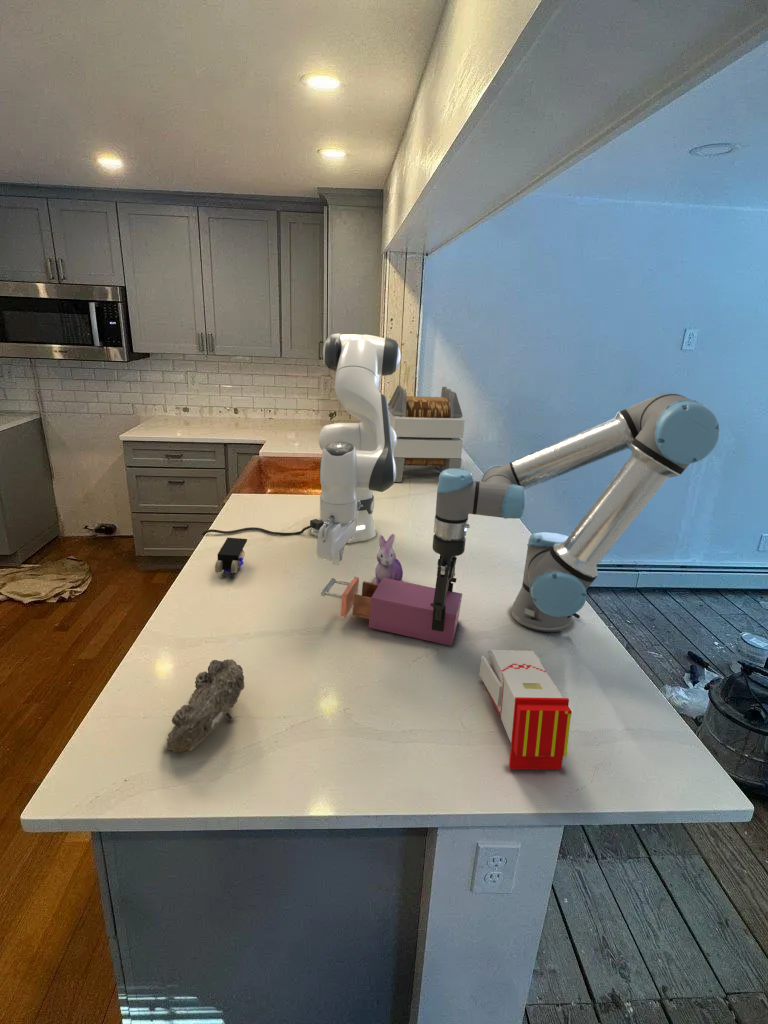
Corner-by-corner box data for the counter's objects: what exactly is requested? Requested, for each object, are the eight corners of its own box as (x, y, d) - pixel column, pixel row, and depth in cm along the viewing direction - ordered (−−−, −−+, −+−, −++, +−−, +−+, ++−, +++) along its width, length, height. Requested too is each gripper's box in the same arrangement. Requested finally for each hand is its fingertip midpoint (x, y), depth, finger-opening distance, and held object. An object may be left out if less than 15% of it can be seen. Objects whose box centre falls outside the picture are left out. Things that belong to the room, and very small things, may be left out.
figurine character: (238, 584, 162) (249, 557, 175) (236, 562, 158) (247, 536, 172) (215, 584, 161) (227, 556, 175) (212, 561, 158) (225, 535, 171)
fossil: (192, 660, 117) (244, 628, 112) (224, 691, 120) (276, 661, 115) (142, 746, 98) (202, 712, 93) (182, 779, 101) (242, 748, 96)
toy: (530, 632, 124) (581, 706, 94) (525, 688, 126) (573, 777, 97) (475, 631, 123) (509, 705, 94) (471, 687, 126) (503, 777, 96)
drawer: (318, 611, 142) (319, 588, 140) (331, 593, 151) (333, 571, 149) (416, 633, 137) (419, 610, 134) (424, 612, 146) (427, 591, 144)
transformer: (382, 463, 289) (386, 382, 275) (445, 464, 293) (451, 384, 279) (390, 482, 257) (394, 392, 243) (460, 483, 261) (468, 394, 247)
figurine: (381, 594, 157) (383, 544, 152) (365, 579, 165) (367, 531, 160) (411, 588, 161) (414, 539, 156) (393, 573, 169) (396, 527, 164)
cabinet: (368, 627, 139) (371, 597, 136) (380, 605, 149) (383, 577, 146) (451, 646, 134) (456, 615, 132) (457, 622, 145) (462, 593, 142)
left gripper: (336, 526, 127) (335, 581, 131) (362, 499, 145) (361, 548, 150) (309, 522, 128) (310, 577, 133) (339, 496, 147) (338, 545, 151)
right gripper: (459, 557, 120) (449, 646, 127) (471, 520, 142) (462, 597, 149) (424, 552, 122) (417, 639, 129) (441, 516, 143) (434, 593, 151)
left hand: (337, 562), depth 142 cm, fingers closed
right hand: (441, 617), depth 139 cm, fingers closed on cabinet, 11 cm apart
